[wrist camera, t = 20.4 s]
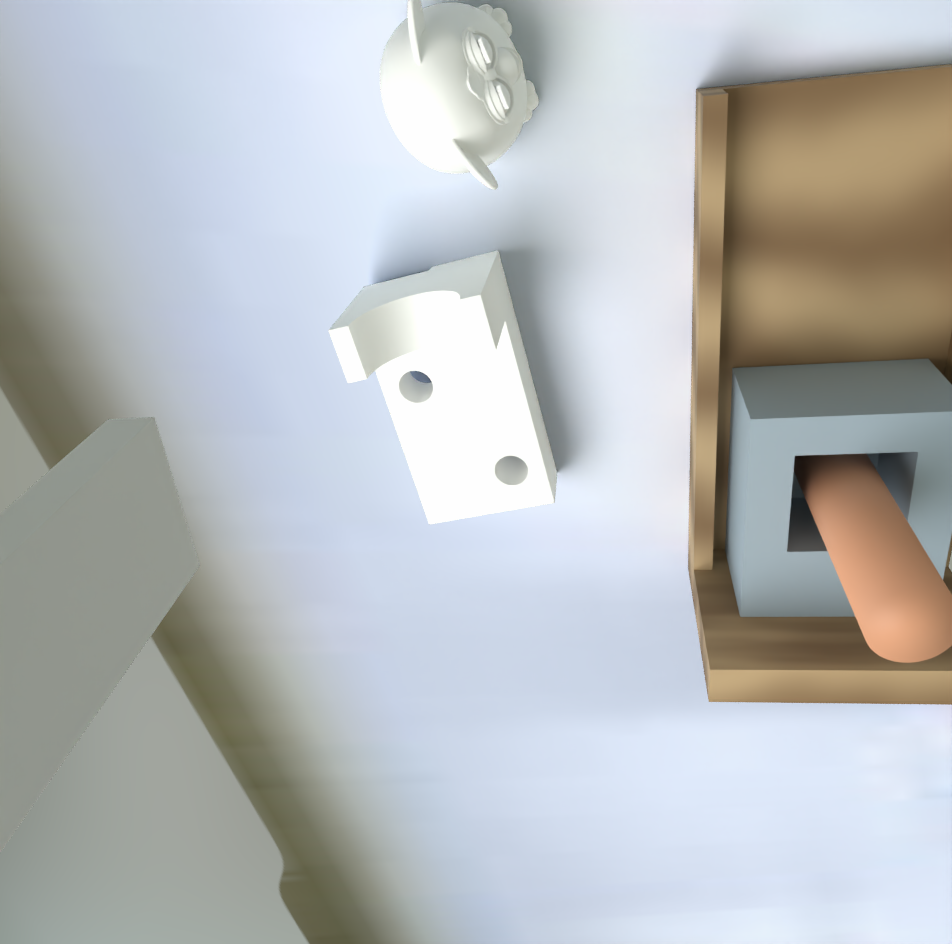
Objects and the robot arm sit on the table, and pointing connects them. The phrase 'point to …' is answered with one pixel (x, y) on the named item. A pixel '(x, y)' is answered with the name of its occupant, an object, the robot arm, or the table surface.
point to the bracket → (454, 386)
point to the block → (827, 433)
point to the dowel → (877, 558)
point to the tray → (811, 325)
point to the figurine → (455, 87)
